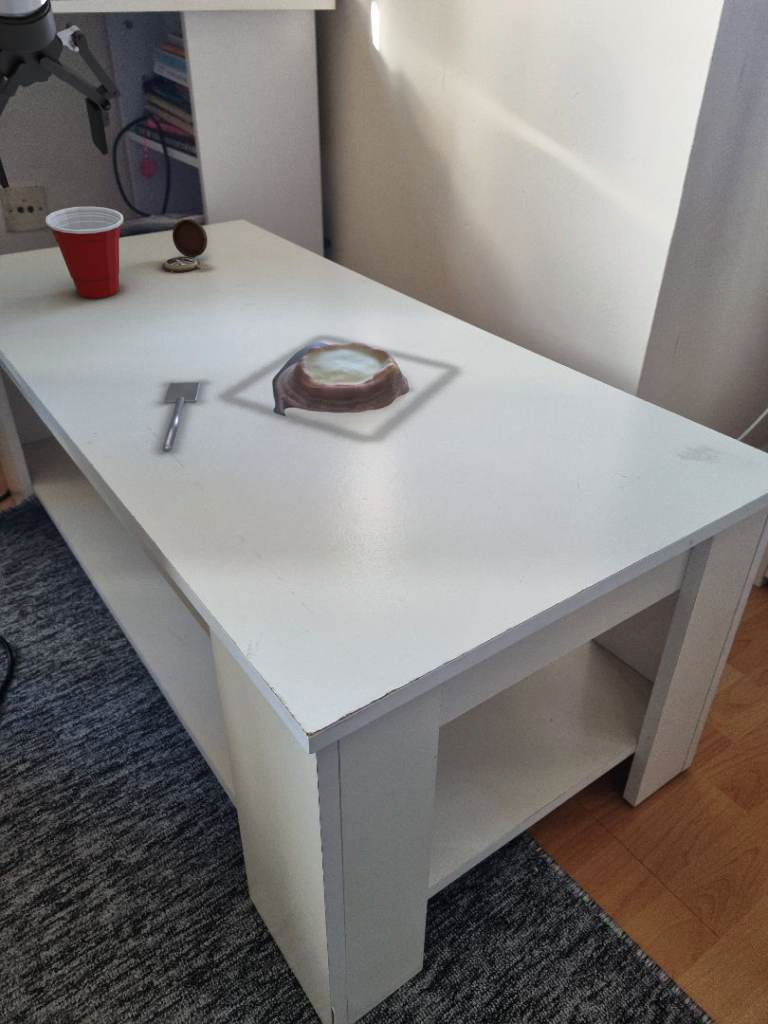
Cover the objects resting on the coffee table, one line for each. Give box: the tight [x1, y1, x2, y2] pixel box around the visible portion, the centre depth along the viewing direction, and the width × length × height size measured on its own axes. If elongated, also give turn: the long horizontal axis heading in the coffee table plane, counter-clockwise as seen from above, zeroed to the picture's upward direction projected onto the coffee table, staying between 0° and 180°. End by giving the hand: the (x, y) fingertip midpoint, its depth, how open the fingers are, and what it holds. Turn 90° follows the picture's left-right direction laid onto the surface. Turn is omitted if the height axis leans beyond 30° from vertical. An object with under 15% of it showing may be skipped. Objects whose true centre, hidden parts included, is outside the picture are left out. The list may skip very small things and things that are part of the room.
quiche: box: [271, 342, 410, 418], centre depth 96 cm, size 21×20×4 cm
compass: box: [161, 217, 210, 274], centre depth 132 cm, size 8×8×7 cm
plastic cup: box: [45, 205, 124, 300], centre depth 120 cm, size 11×11×12 cm
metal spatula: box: [161, 381, 201, 453], centre depth 90 cm, size 4×16×1 cm, turn 5°
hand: (52, 164), depth 104 cm, fingers open, 13 cm apart
